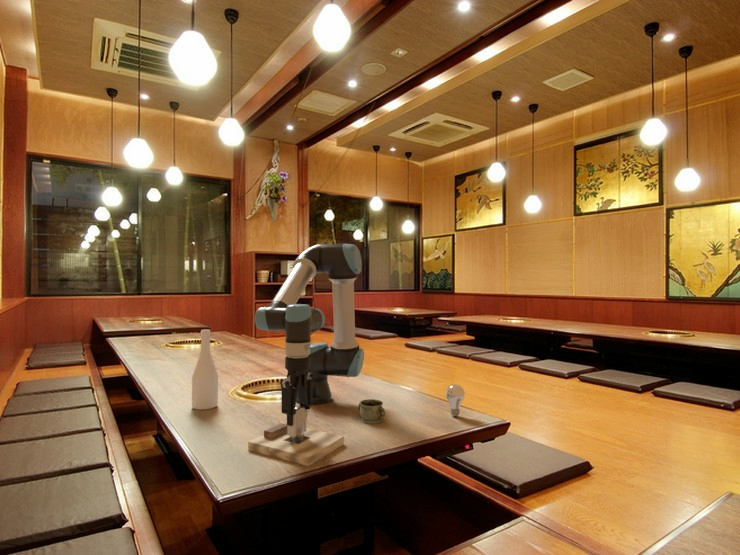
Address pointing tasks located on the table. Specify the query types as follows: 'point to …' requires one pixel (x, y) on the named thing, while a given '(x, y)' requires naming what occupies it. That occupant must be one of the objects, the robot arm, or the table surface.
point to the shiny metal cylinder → (299, 425)
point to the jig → (295, 445)
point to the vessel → (371, 411)
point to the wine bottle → (205, 377)
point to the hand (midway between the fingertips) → (297, 433)
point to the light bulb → (455, 398)
